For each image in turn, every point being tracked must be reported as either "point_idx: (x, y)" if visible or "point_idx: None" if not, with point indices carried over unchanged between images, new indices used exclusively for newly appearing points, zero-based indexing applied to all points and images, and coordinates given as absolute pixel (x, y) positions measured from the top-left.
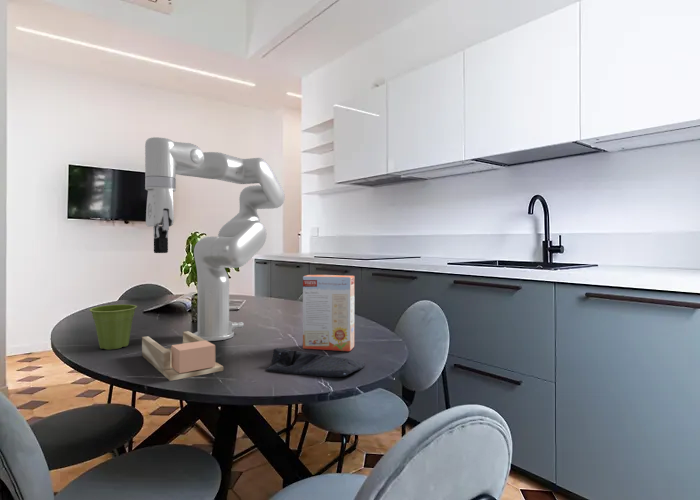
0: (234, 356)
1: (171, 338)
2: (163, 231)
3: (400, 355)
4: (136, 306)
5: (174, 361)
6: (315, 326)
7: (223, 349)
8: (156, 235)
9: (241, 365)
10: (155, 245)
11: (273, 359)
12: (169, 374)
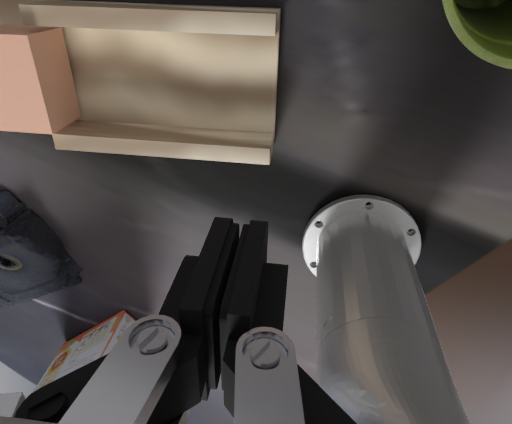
0: (138, 194)
1: (441, 154)
2: (11, 401)
3: (16, 370)
4: (500, 63)
5: (24, 28)
6: (83, 356)
7: (213, 204)
8: (170, 344)
9: (61, 172)
10: (201, 254)
11: (16, 219)
12: (9, 2)
